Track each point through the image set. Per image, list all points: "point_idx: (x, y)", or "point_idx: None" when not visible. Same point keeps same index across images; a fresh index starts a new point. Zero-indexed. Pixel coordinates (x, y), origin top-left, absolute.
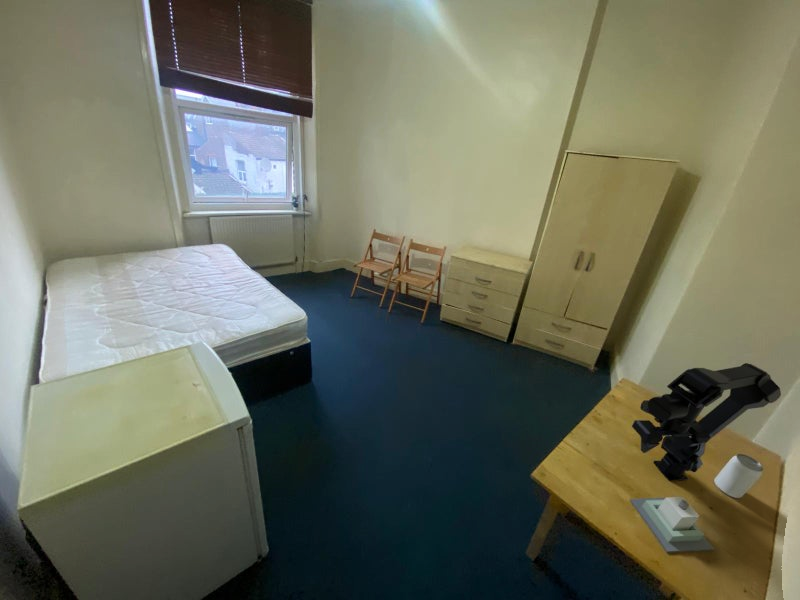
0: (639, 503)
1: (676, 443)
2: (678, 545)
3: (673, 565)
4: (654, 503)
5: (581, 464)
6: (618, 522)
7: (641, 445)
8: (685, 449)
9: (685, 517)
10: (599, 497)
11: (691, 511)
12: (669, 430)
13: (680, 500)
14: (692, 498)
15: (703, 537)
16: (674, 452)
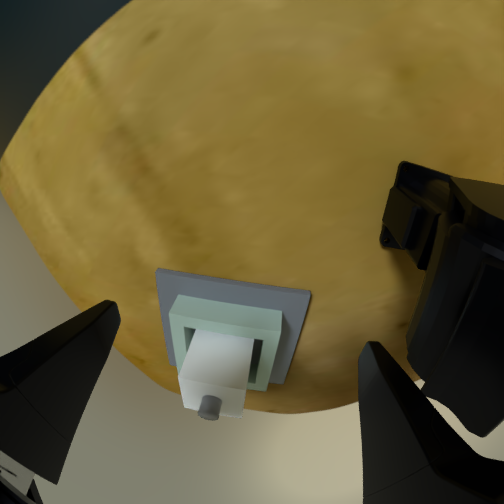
0: (174, 288)
1: (384, 427)
2: None
3: (170, 372)
4: (191, 325)
5: (76, 136)
6: (101, 300)
7: (70, 325)
8: (446, 378)
9: (196, 409)
10: (81, 244)
11: (229, 410)
12: None
13: (225, 392)
14: (386, 300)
15: (284, 371)
16: (423, 304)
